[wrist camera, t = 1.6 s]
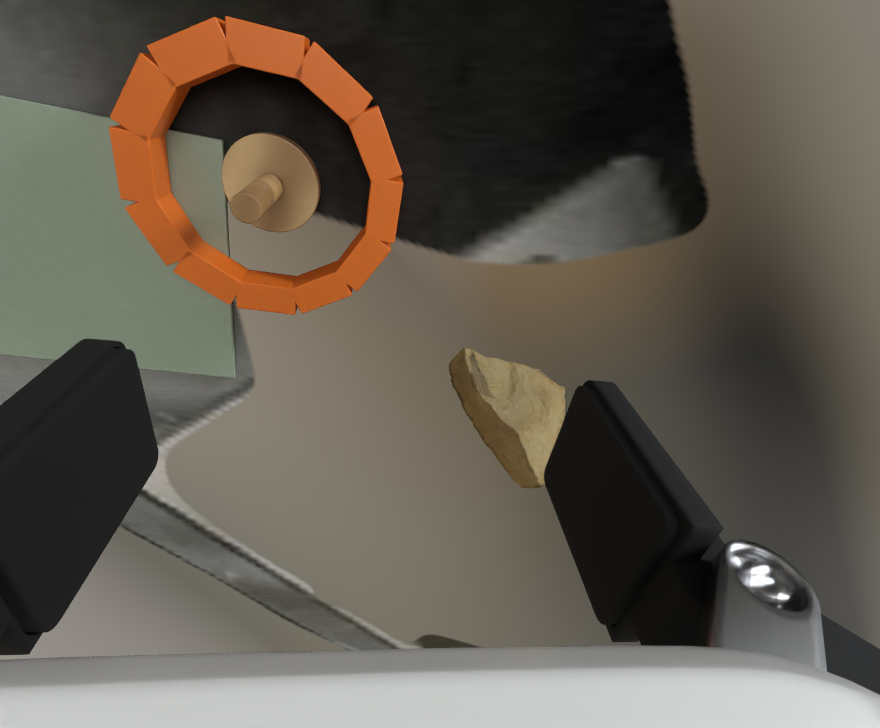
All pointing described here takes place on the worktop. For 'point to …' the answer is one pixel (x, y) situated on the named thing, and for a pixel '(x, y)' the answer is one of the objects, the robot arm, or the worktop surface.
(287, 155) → the wooden peg disc
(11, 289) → the mat
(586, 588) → the robot arm
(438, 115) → the worktop surface
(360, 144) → the ring
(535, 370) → the rock
